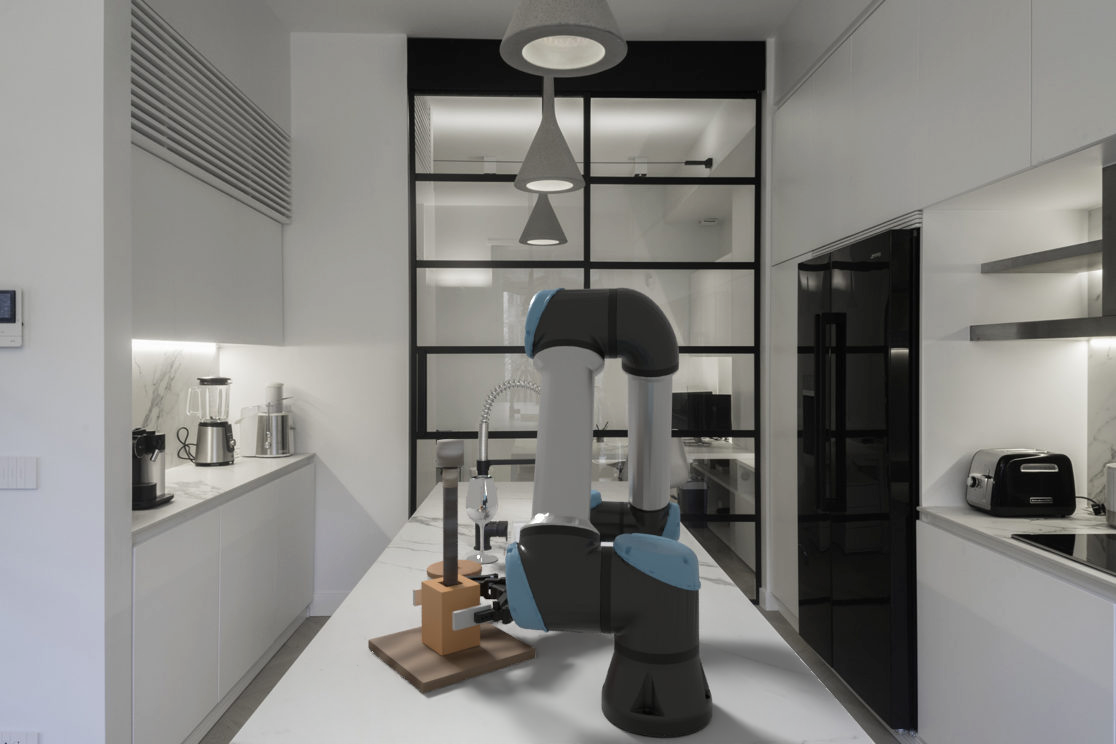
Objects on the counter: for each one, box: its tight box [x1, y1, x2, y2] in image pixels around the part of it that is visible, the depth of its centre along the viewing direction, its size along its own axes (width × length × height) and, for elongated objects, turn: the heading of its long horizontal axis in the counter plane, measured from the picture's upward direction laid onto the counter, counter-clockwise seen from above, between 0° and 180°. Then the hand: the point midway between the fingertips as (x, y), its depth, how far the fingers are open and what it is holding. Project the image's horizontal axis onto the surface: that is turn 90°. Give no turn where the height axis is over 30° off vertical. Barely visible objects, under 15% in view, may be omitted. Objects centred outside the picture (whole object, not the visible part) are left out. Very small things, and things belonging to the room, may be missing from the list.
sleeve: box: [420, 574, 481, 656], centre depth 116 cm, size 7×7×10 cm
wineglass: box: [465, 474, 499, 565], centre depth 171 cm, size 8×8×20 cm
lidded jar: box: [426, 559, 483, 581], centre depth 138 cm, size 11×11×9 cm
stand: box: [367, 438, 537, 694], centre depth 116 cm, size 20×20×35 cm
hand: (432, 609), depth 114 cm, fingers open, 13 cm apart
